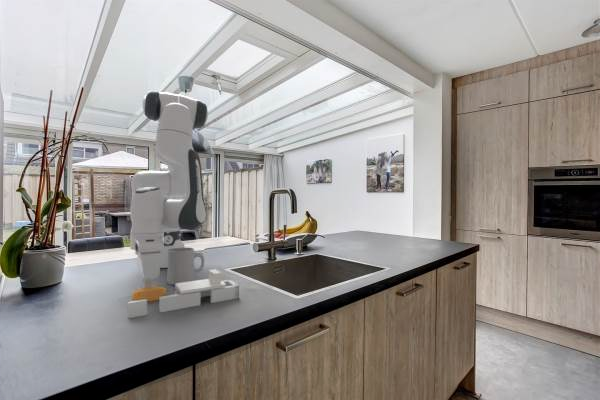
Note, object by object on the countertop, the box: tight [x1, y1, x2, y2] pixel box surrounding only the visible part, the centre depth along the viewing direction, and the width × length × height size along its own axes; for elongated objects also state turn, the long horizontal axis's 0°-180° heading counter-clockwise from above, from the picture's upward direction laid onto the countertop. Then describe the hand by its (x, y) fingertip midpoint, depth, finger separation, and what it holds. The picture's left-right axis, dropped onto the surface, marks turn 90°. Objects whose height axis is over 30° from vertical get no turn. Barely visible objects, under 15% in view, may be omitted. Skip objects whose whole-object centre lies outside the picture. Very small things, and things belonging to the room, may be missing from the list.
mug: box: [166, 247, 205, 286], centre depth 105 cm, size 12×8×11 cm
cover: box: [174, 268, 226, 294], centre depth 86 cm, size 8×12×4 cm, turn 123°
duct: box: [127, 279, 240, 319], centre depth 84 cm, size 7×28×4 cm, turn 123°
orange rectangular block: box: [131, 285, 168, 303], centre depth 86 cm, size 3×9×3 cm, turn 123°
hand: (147, 288), depth 90 cm, fingers closed
